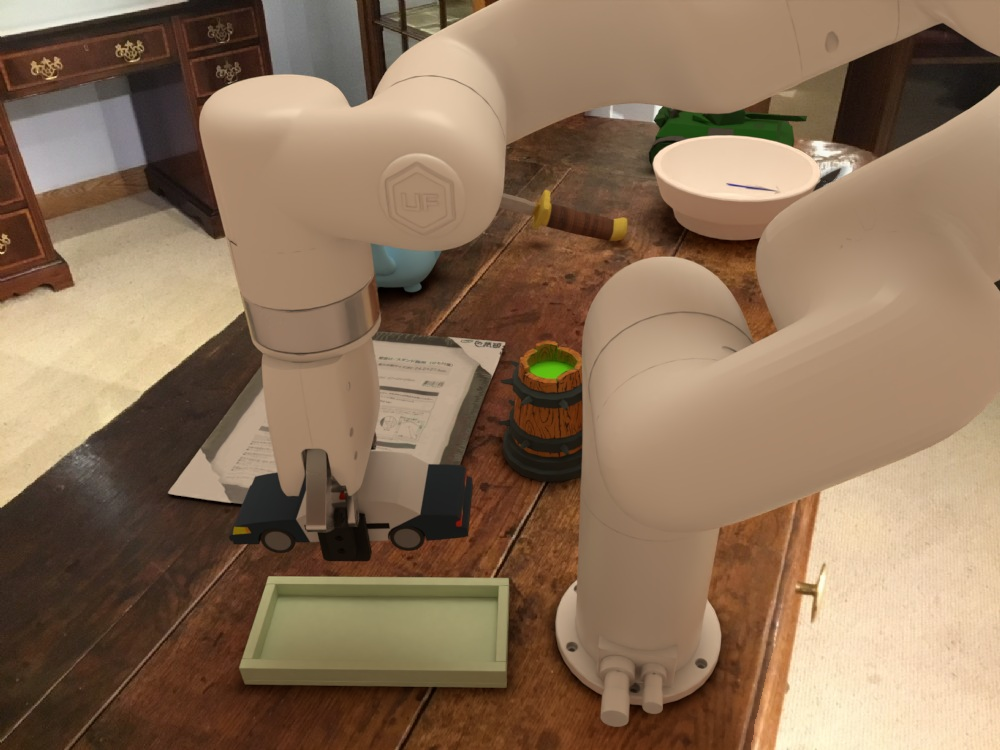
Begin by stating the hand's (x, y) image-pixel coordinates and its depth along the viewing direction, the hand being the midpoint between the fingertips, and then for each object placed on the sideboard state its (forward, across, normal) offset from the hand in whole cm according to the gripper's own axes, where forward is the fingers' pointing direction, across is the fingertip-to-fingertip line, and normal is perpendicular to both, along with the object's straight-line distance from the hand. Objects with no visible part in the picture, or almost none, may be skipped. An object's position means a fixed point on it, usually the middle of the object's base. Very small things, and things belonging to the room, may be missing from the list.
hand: (355, 523), depth 59 cm
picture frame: (+12, -28, -7) cm, 31 cm away
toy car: (0, 0, 0) cm, 0 cm away
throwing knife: (+13, -84, +58) cm, 103 cm away
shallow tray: (+12, 0, 0) cm, 12 cm away
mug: (+13, -21, +15) cm, 29 cm away
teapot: (+13, -56, -6) cm, 58 cm away
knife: (+11, -65, +25) cm, 71 cm away
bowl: (+13, -71, +40) cm, 83 cm away
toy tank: (+13, -93, +43) cm, 103 cm away
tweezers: (+3, -62, +42) cm, 75 cm away
